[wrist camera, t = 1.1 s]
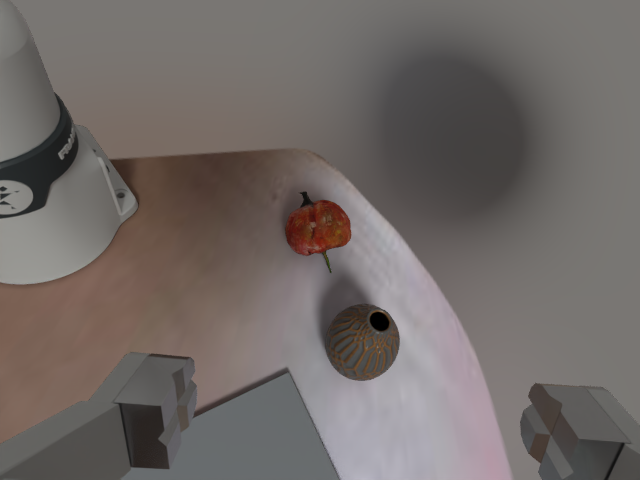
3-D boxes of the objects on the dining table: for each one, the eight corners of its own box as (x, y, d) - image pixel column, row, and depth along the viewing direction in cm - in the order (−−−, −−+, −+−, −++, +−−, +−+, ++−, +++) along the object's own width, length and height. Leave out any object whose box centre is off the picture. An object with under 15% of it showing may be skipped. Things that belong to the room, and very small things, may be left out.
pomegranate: (345, 260, 49) (327, 185, 48) (371, 268, 43) (351, 180, 41) (291, 278, 47) (271, 199, 46) (310, 288, 40) (286, 196, 39)
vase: (316, 323, 41) (336, 285, 34) (375, 322, 43) (406, 285, 36) (323, 390, 37) (348, 362, 30) (389, 386, 39) (426, 358, 32)
